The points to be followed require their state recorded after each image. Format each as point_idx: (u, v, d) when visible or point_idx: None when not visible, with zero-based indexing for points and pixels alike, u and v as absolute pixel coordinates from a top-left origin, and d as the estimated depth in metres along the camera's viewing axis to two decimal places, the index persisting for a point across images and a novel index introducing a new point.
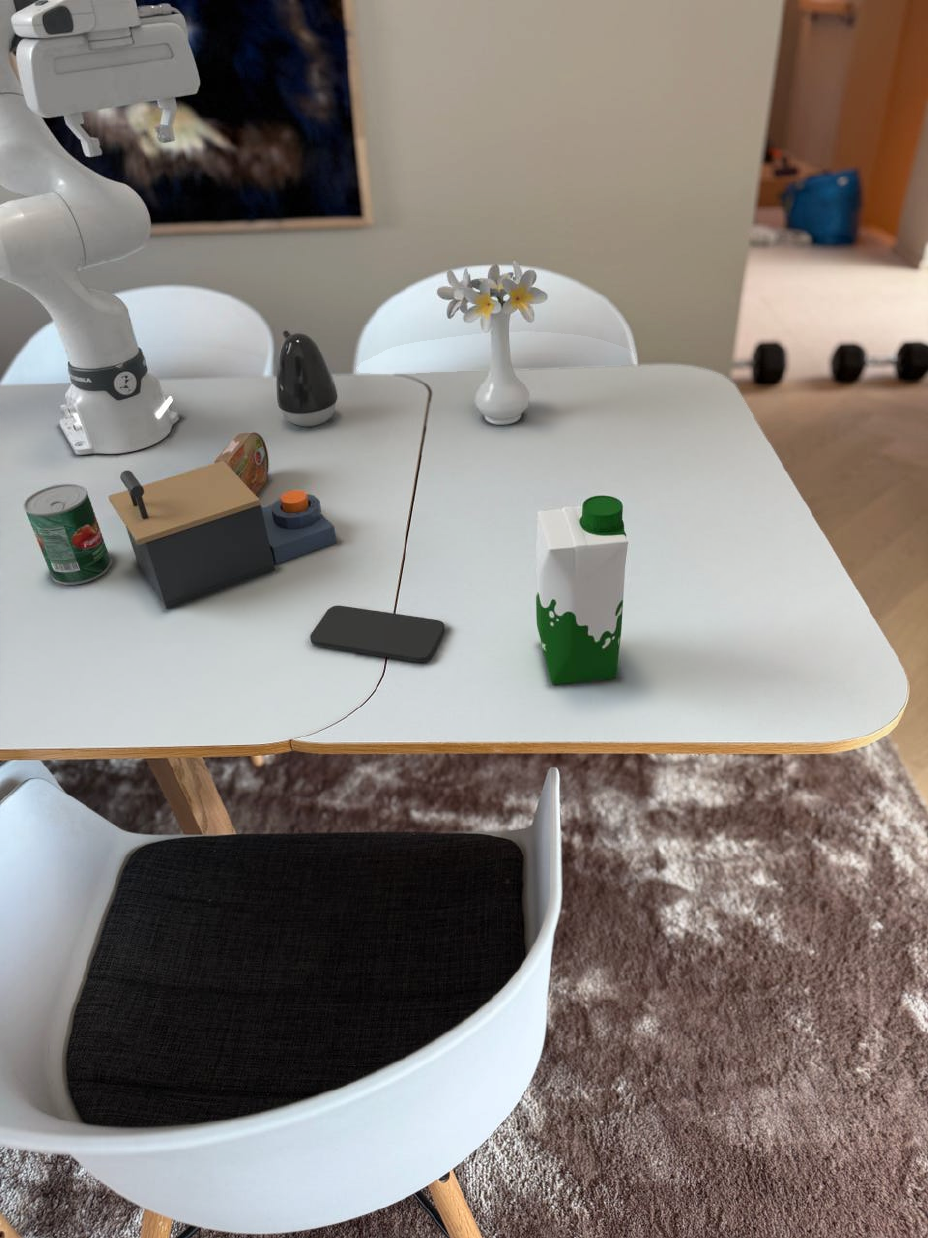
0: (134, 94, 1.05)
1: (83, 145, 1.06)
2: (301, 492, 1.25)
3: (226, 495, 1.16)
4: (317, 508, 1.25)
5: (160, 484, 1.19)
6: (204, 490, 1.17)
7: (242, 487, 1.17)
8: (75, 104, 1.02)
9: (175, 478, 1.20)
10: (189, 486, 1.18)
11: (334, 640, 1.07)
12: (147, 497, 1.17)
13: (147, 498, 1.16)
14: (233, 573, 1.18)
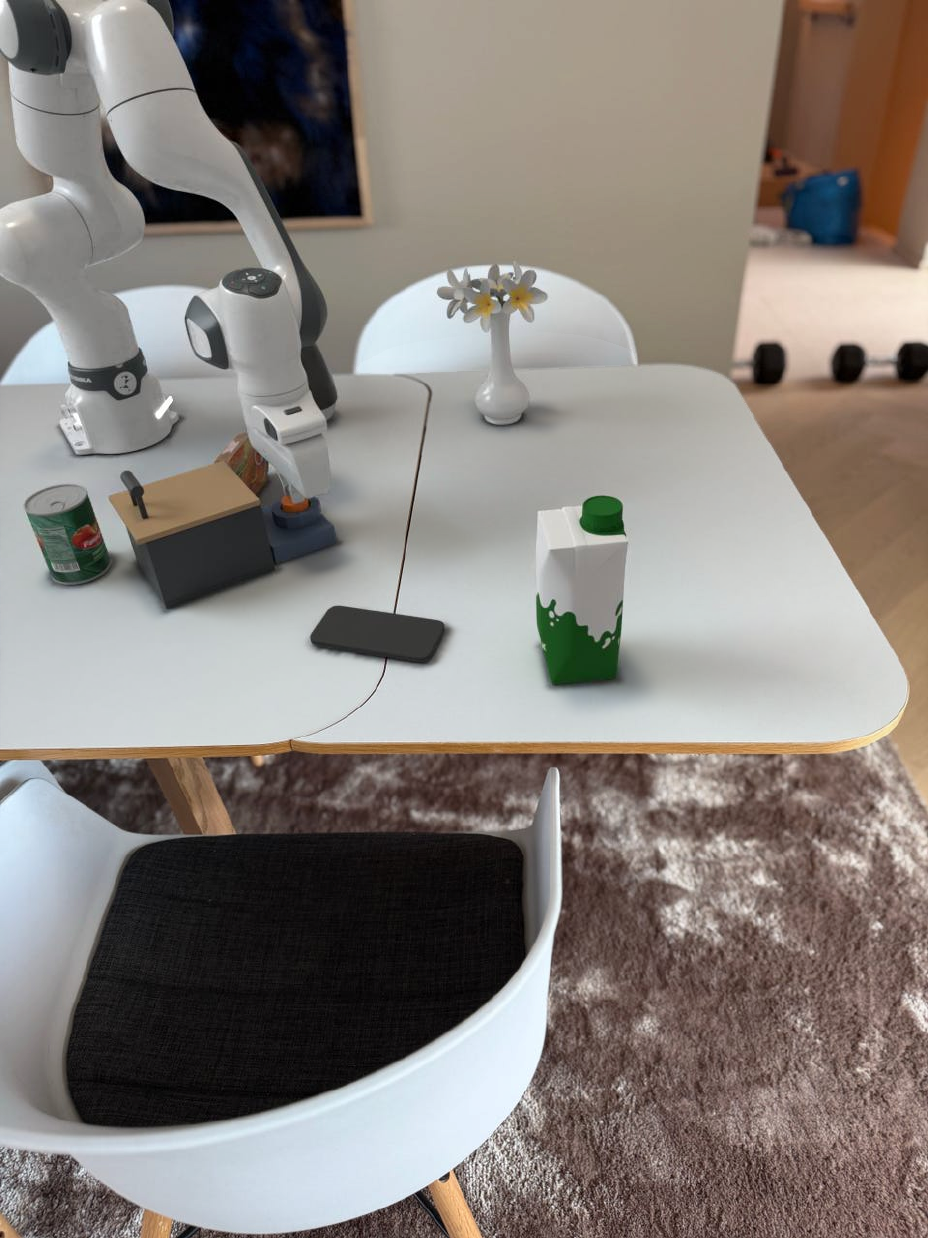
0: None
1: (294, 496, 1.23)
2: None
3: (226, 495, 1.16)
4: (317, 508, 1.25)
5: (160, 484, 1.19)
6: (204, 490, 1.17)
7: (242, 487, 1.17)
8: None
9: (175, 478, 1.20)
10: (189, 486, 1.18)
11: (334, 640, 1.07)
12: (147, 497, 1.17)
13: (147, 498, 1.16)
14: (233, 573, 1.18)
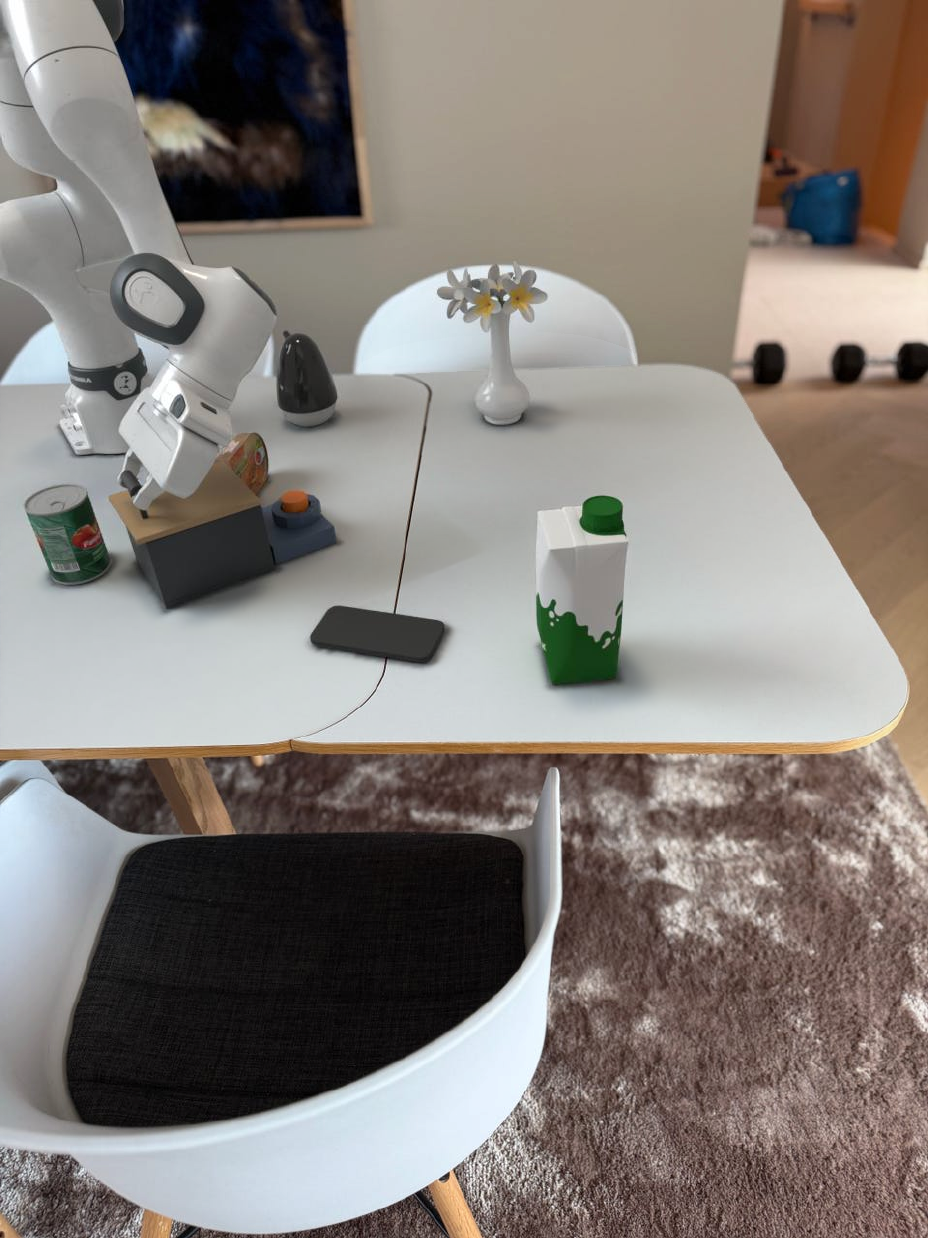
0: None
1: (140, 499, 1.09)
2: (301, 492, 1.25)
3: (226, 495, 1.16)
4: (317, 508, 1.25)
5: None
6: (204, 490, 1.17)
7: (242, 487, 1.17)
8: None
9: None
10: None
11: (334, 640, 1.07)
12: None
13: None
14: (233, 573, 1.18)
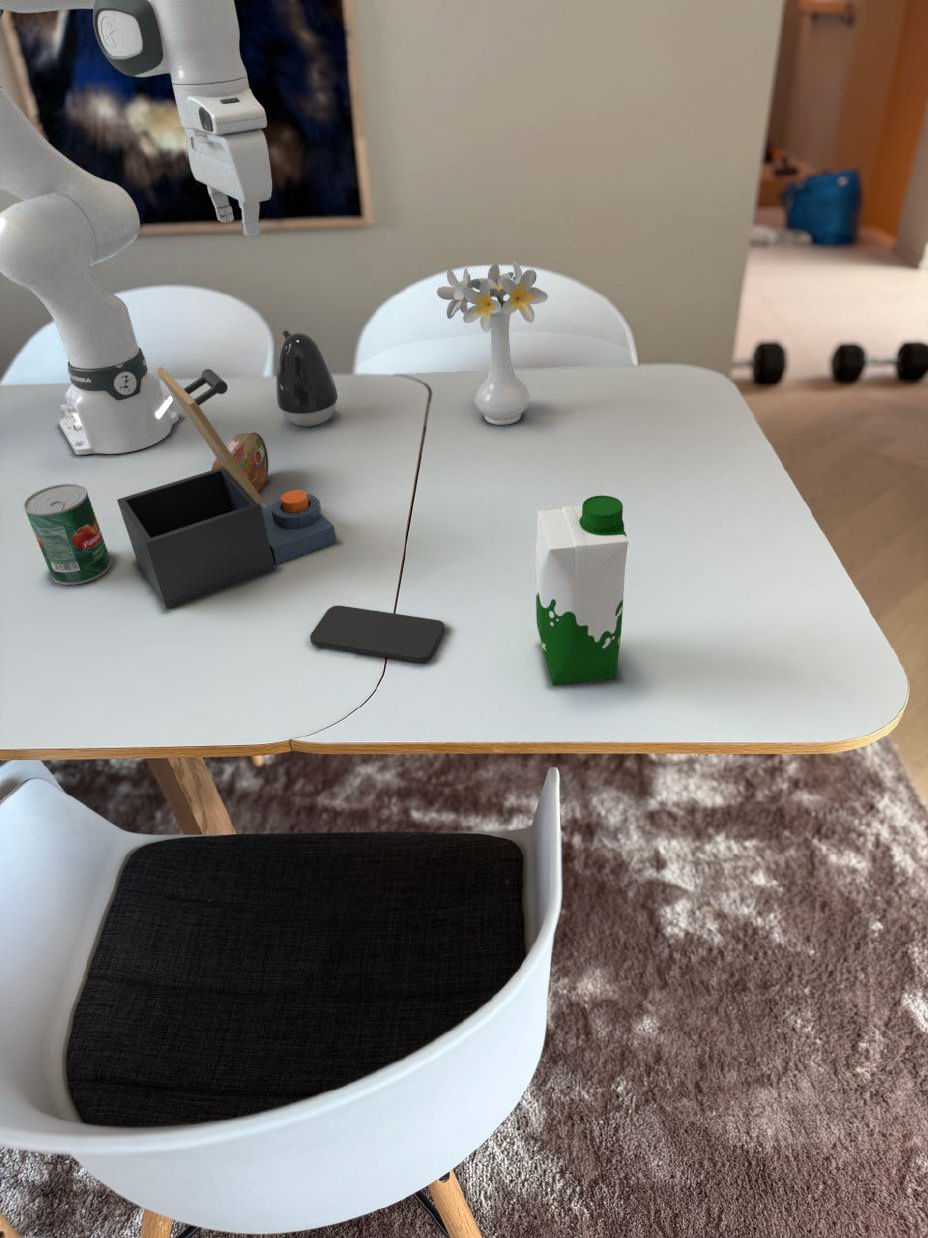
0: None
1: (248, 227, 1.14)
2: (301, 492, 1.25)
3: None
4: (317, 508, 1.25)
5: None
6: None
7: None
8: None
9: None
10: None
11: (334, 640, 1.07)
12: None
13: None
14: (233, 573, 1.18)
